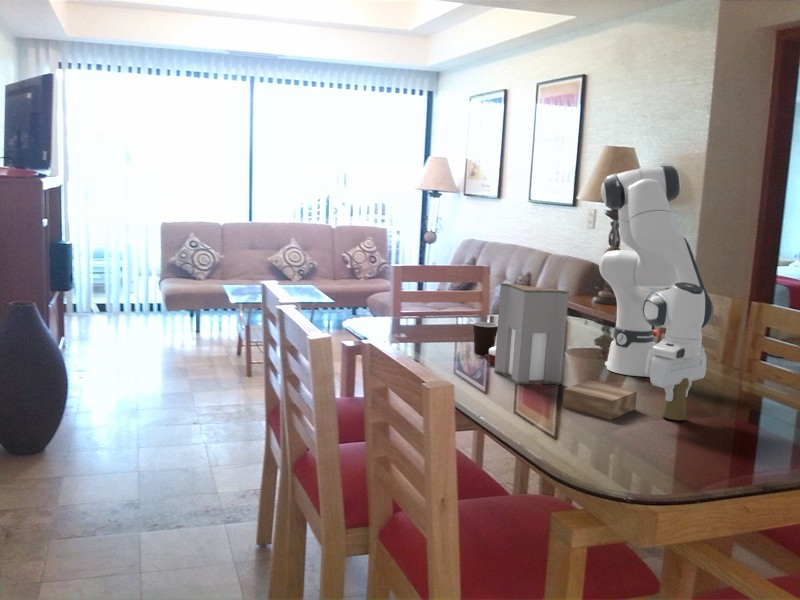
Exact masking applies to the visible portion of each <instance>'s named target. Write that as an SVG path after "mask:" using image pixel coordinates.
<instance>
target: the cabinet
mask: <svg viewBox="0 0 800 600" xmlns="http://www.w3.org/2000/svg"><path fill="white" fill-rule="evenodd" d="M499 289H500V291H499V300H498V301H499V302H498V303H499V304H498V316H497V325H498V328H497V335H496V340H495V346H496V355H495V365H494V370H493V373H494V374H500V375H502V376H504V377H506V378H507V379H509V380H510V381H512V382H513V383H515V384H516V385H534V384H535V385H537V384H553V385H558V386H559V385H561V384H562V375H563V374H562V372H563V363H564V362H563V361H564V351H565V339H566V338H565V337H566V327H567V316H568V307H569V306H568V305H569V297H570V296H569V293H570V292H569V290H563V289H554V288H546V287H539V286H530V285H521V284H516V283H515V284H514V283H506V282H505V283H504V282H503V283H500V288H499Z"/></svg>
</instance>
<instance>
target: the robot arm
mask: <svg viewBox="0 0 800 600" xmlns="http://www.w3.org/2000/svg"><path fill="white" fill-rule="evenodd" d="M681 187H682V180H681V176H680V174H679V173H678V170H677V169H676V168H675V167H674V166H671V165H661V166H648V167H639V168H636V169H630V170H627V171H623V172H618V173H616V172H615V173H612V174H608V175H606V176H605V177H604V178H603V180H602V184H601V186H600V196H601V199H602V201H603V203H604V205H605V207H607V208H608V209H610V210H617V211H618V228H619V238H620V239H621V241H622V242H623V244H625V245H626V246H627V247H629V248H631V250H627V249H615V250H608V251H606V252H605V253H604V254H603V255H602V257H601V258H600V261H599V265H598V269H599V273H600V276H601V277H602V278H603V280H604V281H605V282H606V283H608V285H609V286H610V288H611V289H612V291H613V293H614V297H615V298H616V299H615V300H616V322H615V326H614V329H613V338H614V339H613V340H611V342H610V346H609V351H608V356H607V360H606V361H605V362H604V366H606V369H607V370H608V371H610V372H613V373H616V374H620V375H626V376H634V377H635V376H636V377H647V378H649V379H650V383H651V385H652V386H655V387H658V388H661V389H663V390H664V391H665V392H664V393H665V401H666V400H667V401H674V399H675V394H673V389H674V385H676V384H680V383H681V381H682V380H683V379H684V378H688V380H689V385H688V388H687V389H686V398H688V394H689V390H690V389H691V386H692V383H693V381H697V380H702V379H704V377H705V376H706V372H707V355H706V352H705V347H704V345H703V344H702V340H703V333H702V329H703V328H704V327H706V325H708V323H709V322H710V321H711V319H712V318H713V316H714V304H713V302H712V299H711V297H710V296H709V294H708V292H707V290H706V288H705V286H704V284H703V279H702V278H701V275H700V272H699V267H698V266H697V263H696V260H695V257H694V256H695V255H694V254H693V251H692V248H691V246H690V244H689V241H688V240H687V239H686V238H685V237H684V236H683V235H682V234H681V233H680V231H679V230H678V229H677V227H676V225H675V222H674V220H673V217H672V211H671V206H670V204H669V203H670V202H671V201H674V200H676V199H677V198H678V197H679V195H680V191H681ZM638 287H644V288H651V289H652V288H653V289H664V290H659V291H655V292H654V291H653V292H651V293H649V294H648V295H647V296H646V297H644V296H643V295H642V294H641V293H640V292H639V290H638ZM667 288H668V289H667ZM653 327H655V328H665V330H666V331H665V333H664V338H662V339H661V340H660V341H659V342H658V343H656V342H655V337H658V336H659V335H660V331H659V330H658V329H656V330H655V329H652V328H653Z"/></svg>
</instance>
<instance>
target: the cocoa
mask: <svg viewBox="0 0 800 600" xmlns="http://www.w3.org/2000/svg"><path fill="white" fill-rule="evenodd" d="M495 355H496V345H494V347H491V348H490V349H489V353H488V355H485V356H486V357H485V359H486V361H487V363H489V364H491V365H492V366H495Z"/></svg>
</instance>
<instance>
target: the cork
mask: <svg viewBox="0 0 800 600" xmlns="http://www.w3.org/2000/svg"><path fill="white" fill-rule="evenodd" d="M688 385H689V380H688V378H684V379H683V380H682V381H681V383H680V384H676V385H674V389H673V394H675V399H674V401H667V400H666V399H665V402H664V404H663V409H662V412H661V416H662V417H664V418H665V419H668V420H672V421H673V420H674V421H685V420H687V397H686V389H687V388H688Z"/></svg>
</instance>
